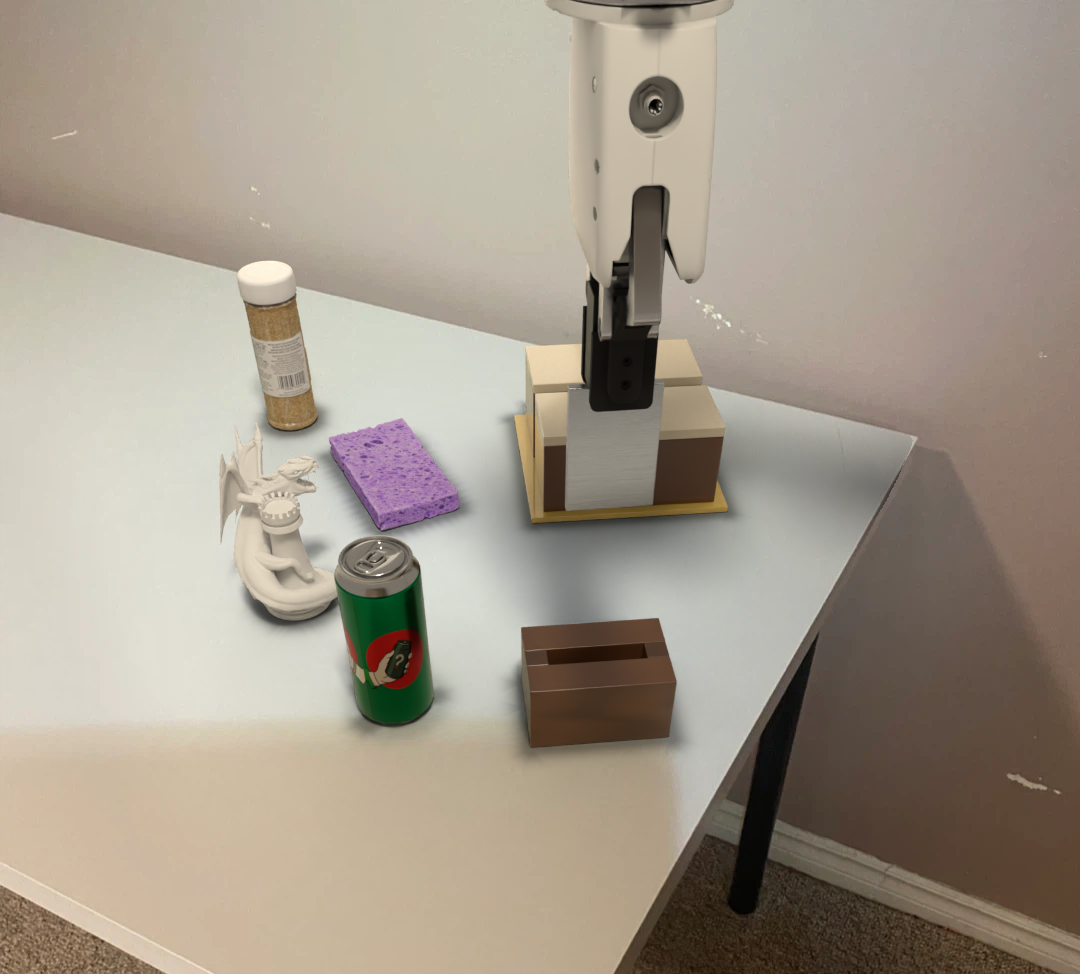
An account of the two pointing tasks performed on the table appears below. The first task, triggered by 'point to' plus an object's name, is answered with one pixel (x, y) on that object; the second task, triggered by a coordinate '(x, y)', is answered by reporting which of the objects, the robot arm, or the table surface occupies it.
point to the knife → (609, 441)
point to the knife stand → (596, 682)
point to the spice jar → (278, 343)
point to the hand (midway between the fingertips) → (615, 391)
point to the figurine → (273, 532)
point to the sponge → (393, 474)
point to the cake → (683, 437)
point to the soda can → (385, 628)
